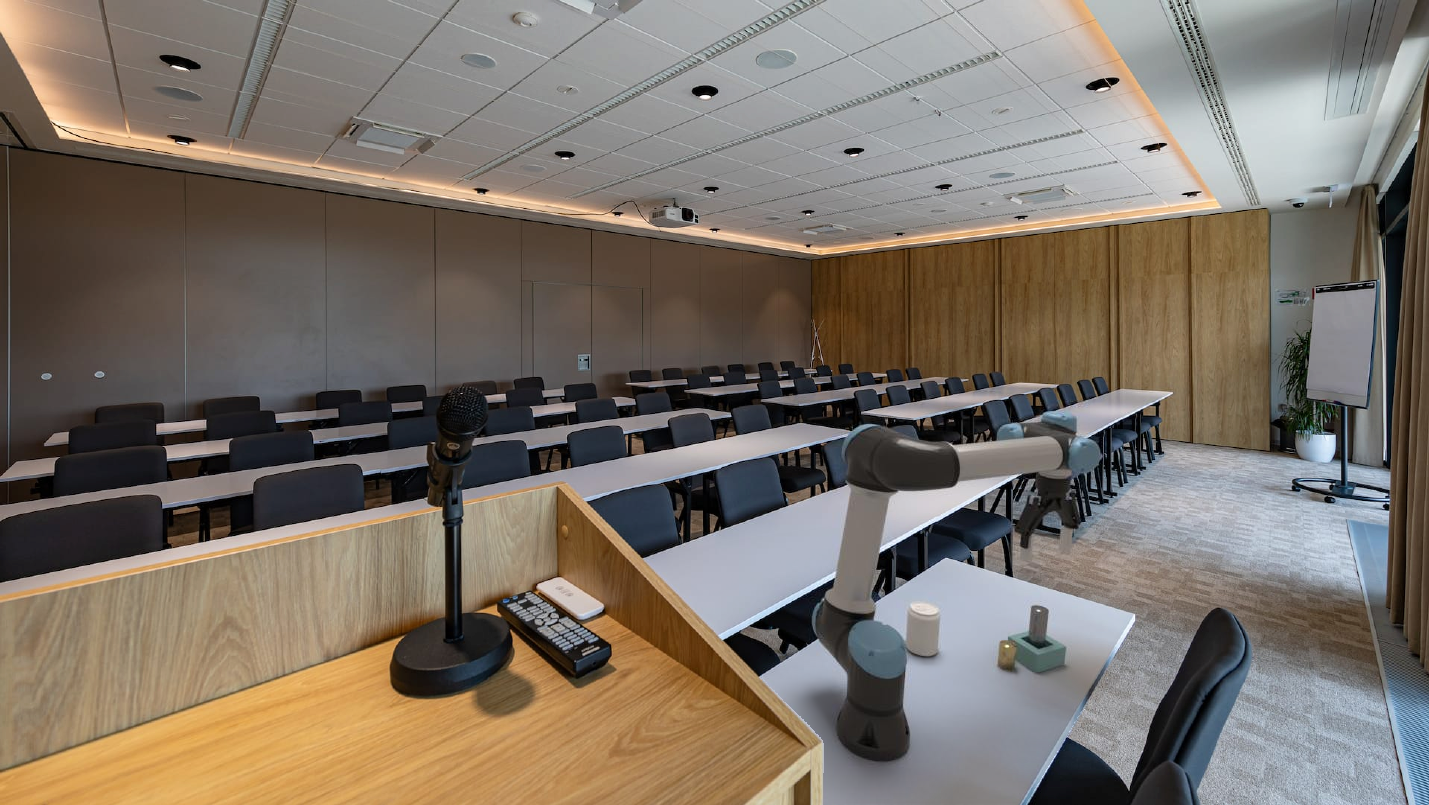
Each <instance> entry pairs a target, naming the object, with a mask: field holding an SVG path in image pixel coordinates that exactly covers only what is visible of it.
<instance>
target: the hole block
mask: <svg viewBox="0 0 1429 805" xmlns="http://www.w3.org/2000/svg"><path fill="white" fill-rule="evenodd" d="M1028 634H1029V630H1027V631H1023V632H1019V633H1015V634H1012V635H1008V636H1007V641H1011V642H1013V643H1015V644H1016V645H1017V651H1016V661H1017V662H1018V663H1019V664H1021V665H1022V666H1025V667H1026V668H1027V669H1029V670H1031V671H1032V672H1033V673H1035V674H1037V673H1038V674H1039V673H1041V672H1044V671H1047V670H1050V669H1053V668H1057V667H1061V666H1063V665H1065V663H1066V662H1065V661H1066V652H1067V646H1066V645H1065V644H1063V643H1061V642H1059V641H1057V639H1054V638H1052V637H1051V636H1050V635H1048V634H1046V643H1045V647H1044V648H1041V649H1037V648H1035V647H1034V646H1032V645H1031V644H1029V643H1028Z"/></svg>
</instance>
